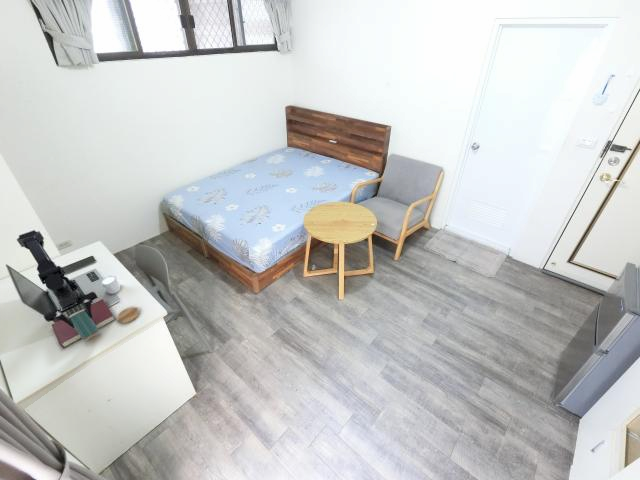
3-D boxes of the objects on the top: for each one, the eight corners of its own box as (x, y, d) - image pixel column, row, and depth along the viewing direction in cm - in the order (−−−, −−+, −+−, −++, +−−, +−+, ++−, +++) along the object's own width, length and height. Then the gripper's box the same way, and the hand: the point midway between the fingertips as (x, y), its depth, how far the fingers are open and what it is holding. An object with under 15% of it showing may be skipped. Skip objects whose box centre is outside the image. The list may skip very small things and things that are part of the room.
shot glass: (115, 295, 154) (109, 285, 150) (103, 293, 155) (97, 283, 151) (124, 286, 160) (119, 276, 155) (113, 284, 161) (107, 274, 157)
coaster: (113, 320, 142) (113, 319, 141) (128, 306, 148) (128, 305, 148) (128, 325, 139) (128, 324, 139) (143, 310, 146) (143, 309, 146)
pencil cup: (78, 330, 137) (63, 311, 129) (94, 321, 141) (81, 302, 133) (87, 347, 130) (72, 328, 122) (104, 338, 133) (90, 319, 126)
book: (54, 328, 138) (51, 324, 136) (105, 302, 150) (102, 298, 148) (63, 348, 130) (59, 344, 128) (115, 319, 142) (113, 315, 140)
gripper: (31, 302, 119) (53, 335, 119) (85, 278, 129) (105, 308, 130) (38, 305, 128) (58, 336, 128) (88, 282, 139) (106, 311, 139)
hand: (82, 322), depth 131 cm, fingers closed on pencil cup, 6 cm apart
